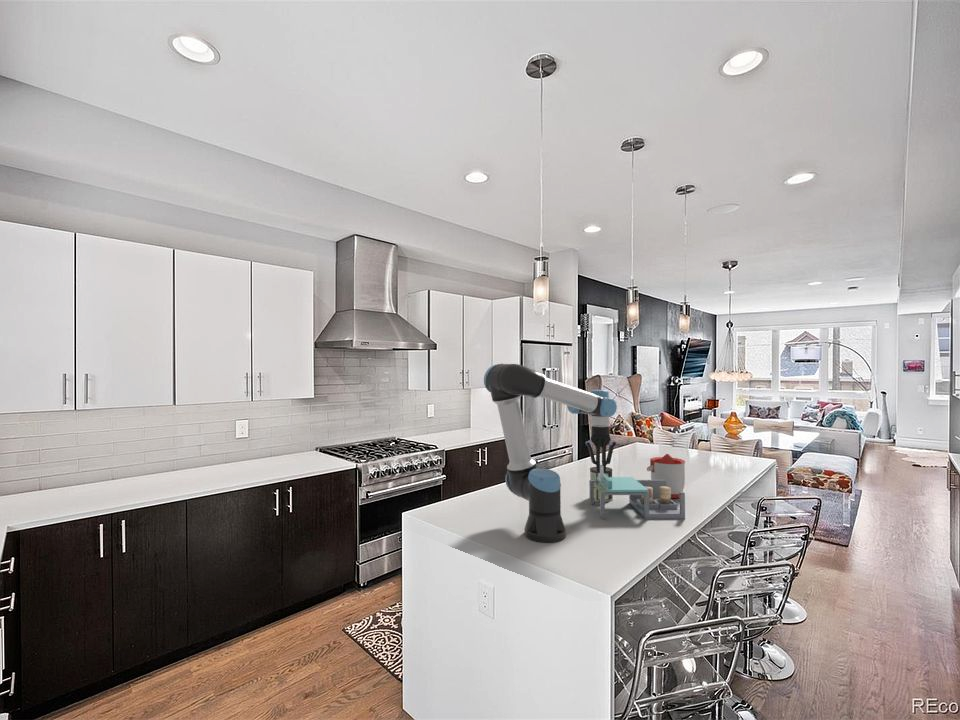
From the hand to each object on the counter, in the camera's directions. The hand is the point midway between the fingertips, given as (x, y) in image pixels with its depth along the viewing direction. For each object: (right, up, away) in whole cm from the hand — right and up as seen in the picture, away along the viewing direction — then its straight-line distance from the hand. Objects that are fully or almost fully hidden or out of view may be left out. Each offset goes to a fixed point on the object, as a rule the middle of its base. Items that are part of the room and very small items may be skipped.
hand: (601, 480), depth 203 cm
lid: (+9, -2, 0) cm, 9 cm away
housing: (+14, -13, -1) cm, 19 cm away
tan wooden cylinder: (+27, -11, -2) cm, 29 cm away
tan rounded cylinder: (+19, -11, -2) cm, 22 cm away
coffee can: (+5, -14, +18) cm, 23 cm away
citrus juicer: (+37, -13, +22) cm, 45 cm away
